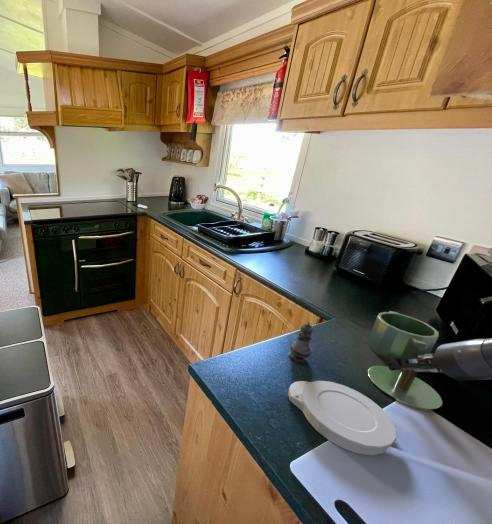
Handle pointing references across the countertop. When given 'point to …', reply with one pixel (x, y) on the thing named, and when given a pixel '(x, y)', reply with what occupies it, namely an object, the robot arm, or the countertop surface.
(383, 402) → the countertop surface
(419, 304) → the countertop surface
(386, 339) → the pot
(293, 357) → the grey chess piece
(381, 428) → the lid
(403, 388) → the pot lid
